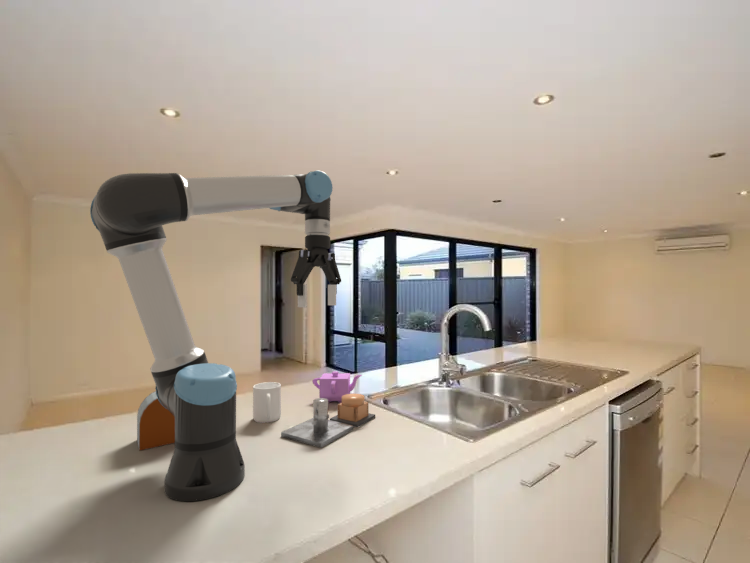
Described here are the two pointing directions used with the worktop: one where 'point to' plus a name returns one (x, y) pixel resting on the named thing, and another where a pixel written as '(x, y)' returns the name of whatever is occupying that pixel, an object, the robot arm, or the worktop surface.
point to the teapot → (335, 385)
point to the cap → (353, 407)
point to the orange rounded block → (154, 424)
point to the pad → (355, 424)
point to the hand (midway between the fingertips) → (317, 306)
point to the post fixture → (318, 427)
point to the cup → (266, 402)
